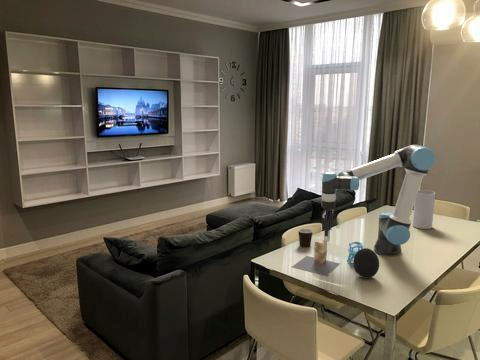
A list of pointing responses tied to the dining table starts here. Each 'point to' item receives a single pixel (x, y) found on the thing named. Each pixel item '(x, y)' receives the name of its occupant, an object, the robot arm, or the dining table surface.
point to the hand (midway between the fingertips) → (326, 240)
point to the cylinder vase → (424, 209)
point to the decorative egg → (366, 263)
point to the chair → (353, 251)
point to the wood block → (320, 251)
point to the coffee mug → (305, 237)
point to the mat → (316, 266)
